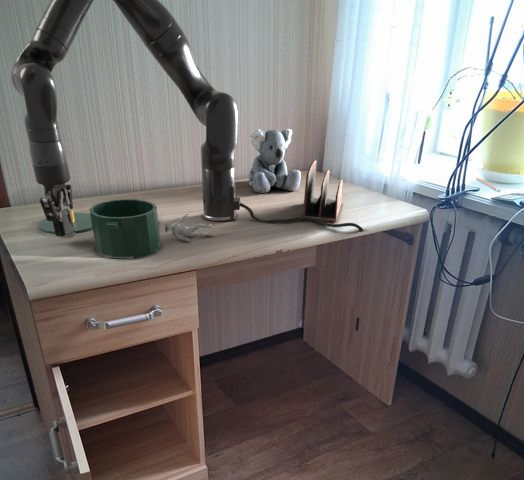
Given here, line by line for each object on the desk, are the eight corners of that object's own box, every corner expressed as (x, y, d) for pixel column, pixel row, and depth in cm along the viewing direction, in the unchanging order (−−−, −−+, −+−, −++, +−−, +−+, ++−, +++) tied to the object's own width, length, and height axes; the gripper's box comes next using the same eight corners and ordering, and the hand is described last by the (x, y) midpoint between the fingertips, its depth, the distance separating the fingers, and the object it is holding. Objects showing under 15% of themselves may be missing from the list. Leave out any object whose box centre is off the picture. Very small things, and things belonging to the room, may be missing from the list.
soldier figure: (212, 244, 134) (168, 235, 128) (205, 251, 138) (162, 243, 132) (212, 217, 136) (169, 207, 130) (205, 225, 140) (163, 216, 134)
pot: (167, 234, 137) (164, 197, 131) (149, 264, 119) (145, 222, 114) (110, 232, 137) (104, 195, 132) (83, 262, 119) (76, 220, 114)
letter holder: (302, 220, 149) (305, 170, 142) (310, 201, 166) (313, 156, 158) (336, 222, 147) (341, 172, 140) (341, 203, 164) (345, 158, 156)
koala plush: (256, 195, 171) (256, 132, 160) (238, 182, 185) (238, 124, 175) (302, 191, 176) (306, 130, 166) (282, 179, 190) (284, 122, 180)
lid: (109, 217, 148) (106, 196, 145) (91, 237, 134) (87, 213, 131) (53, 216, 148) (48, 194, 145) (28, 235, 134) (23, 212, 131)
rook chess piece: (59, 233, 129) (52, 201, 125) (77, 232, 129) (71, 201, 125) (54, 239, 125) (47, 206, 121) (73, 238, 125) (67, 206, 121)
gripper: (53, 168, 111) (69, 243, 121) (76, 154, 123) (88, 223, 133) (19, 167, 112) (37, 242, 121) (45, 154, 124) (60, 222, 133)
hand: (64, 232), depth 127 cm, fingers closed on rook chess piece, 4 cm apart
